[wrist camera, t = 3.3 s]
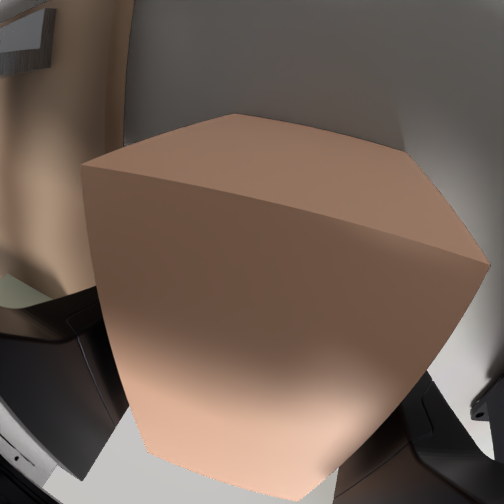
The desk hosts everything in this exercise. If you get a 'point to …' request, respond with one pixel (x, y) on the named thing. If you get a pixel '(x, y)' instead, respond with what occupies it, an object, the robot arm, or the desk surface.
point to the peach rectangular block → (271, 292)
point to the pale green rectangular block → (19, 293)
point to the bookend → (27, 43)
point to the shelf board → (60, 143)
